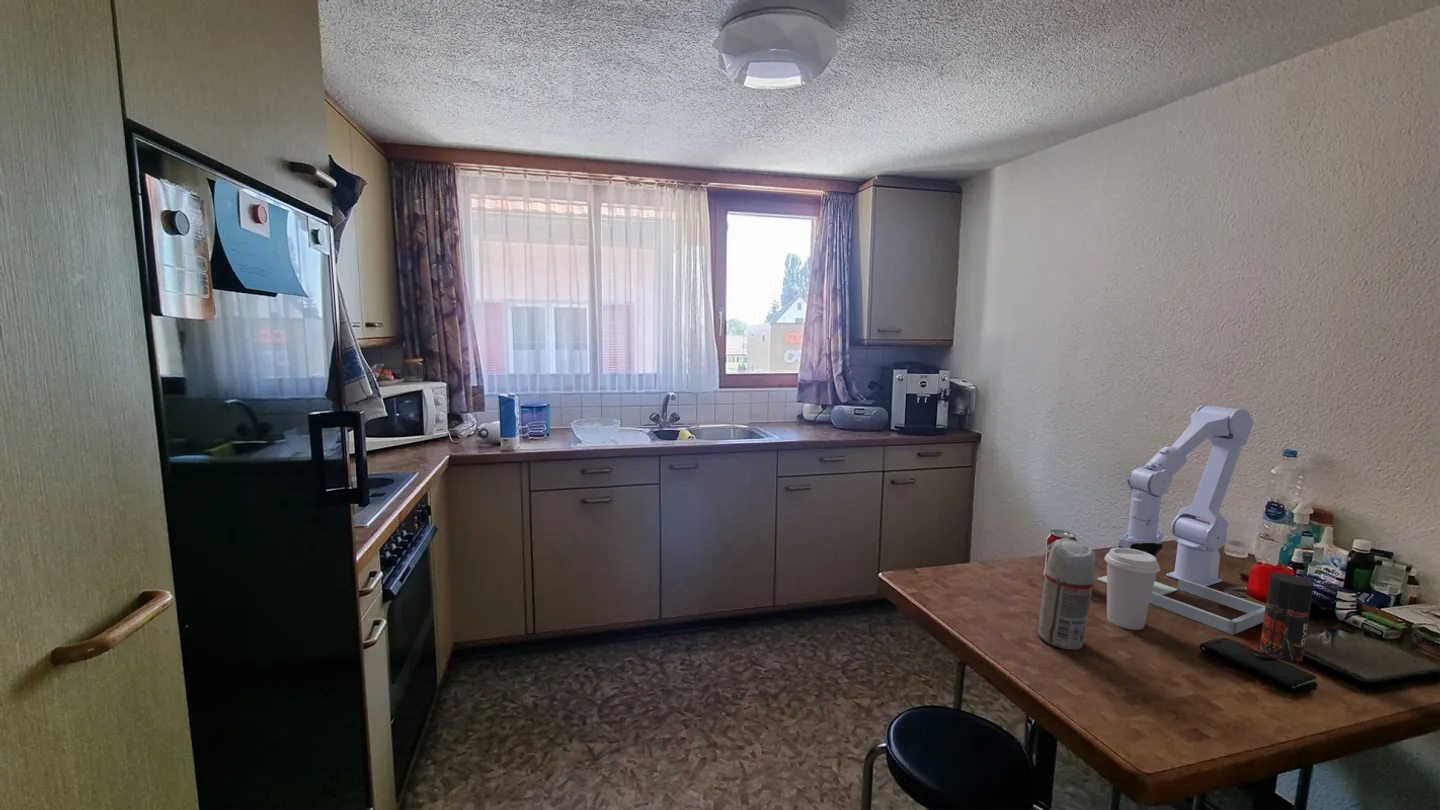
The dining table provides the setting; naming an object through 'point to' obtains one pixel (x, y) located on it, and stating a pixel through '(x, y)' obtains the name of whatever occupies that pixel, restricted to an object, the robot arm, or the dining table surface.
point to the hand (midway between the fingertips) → (1137, 571)
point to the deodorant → (1286, 616)
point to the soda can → (1052, 538)
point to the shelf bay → (1210, 619)
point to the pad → (1157, 587)
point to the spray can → (1067, 594)
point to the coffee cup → (1129, 586)
